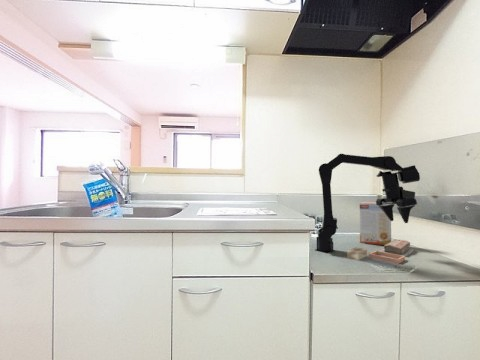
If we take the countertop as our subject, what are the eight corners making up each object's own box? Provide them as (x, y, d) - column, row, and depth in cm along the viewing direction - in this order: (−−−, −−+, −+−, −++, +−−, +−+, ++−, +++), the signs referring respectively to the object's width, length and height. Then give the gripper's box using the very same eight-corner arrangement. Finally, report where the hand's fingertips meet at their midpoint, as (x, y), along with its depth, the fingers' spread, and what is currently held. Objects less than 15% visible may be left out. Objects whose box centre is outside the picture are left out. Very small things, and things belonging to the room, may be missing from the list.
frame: (368, 257, 109) (368, 253, 109) (376, 254, 114) (376, 250, 114) (398, 263, 101) (398, 259, 101) (405, 259, 106) (405, 256, 106)
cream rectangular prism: (347, 257, 109) (347, 250, 109) (356, 254, 114) (356, 247, 114) (358, 260, 105) (358, 252, 105) (366, 256, 111) (366, 249, 111)
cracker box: (391, 243, 134) (391, 202, 134) (390, 246, 129) (390, 203, 129) (361, 240, 141) (361, 201, 141) (359, 242, 136) (359, 202, 136)
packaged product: (390, 237, 128) (414, 241, 121) (390, 247, 128) (414, 251, 121) (377, 243, 116) (403, 248, 109) (377, 254, 116) (403, 259, 109)
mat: (343, 258, 109) (343, 257, 109) (360, 251, 119) (360, 250, 119) (391, 269, 96) (391, 267, 96) (405, 260, 106) (405, 259, 106)
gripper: (425, 181, 104) (434, 220, 103) (395, 183, 122) (402, 216, 122) (399, 186, 103) (407, 225, 102) (372, 187, 122) (379, 221, 121)
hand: (399, 221), depth 112 cm, fingers open, 9 cm apart
